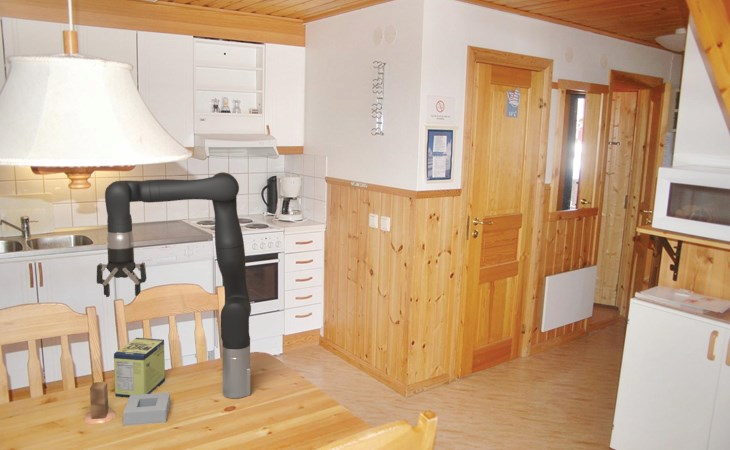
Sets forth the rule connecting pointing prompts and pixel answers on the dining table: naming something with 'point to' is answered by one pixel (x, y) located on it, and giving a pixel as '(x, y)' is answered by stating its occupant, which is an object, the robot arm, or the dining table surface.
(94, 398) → the walnut block
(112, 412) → the coaster
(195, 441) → the dining table surface
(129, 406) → the pocket holder
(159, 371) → the protein box
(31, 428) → the dining table surface
